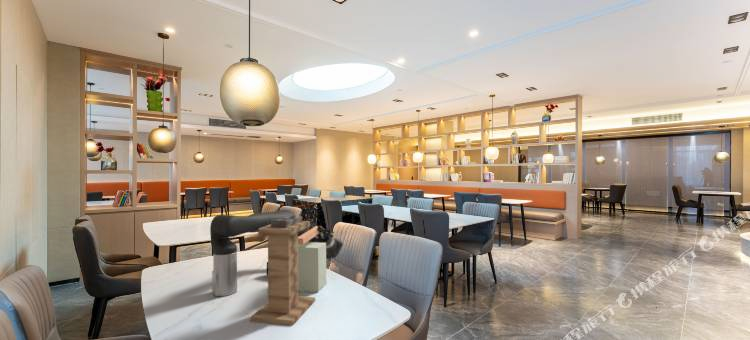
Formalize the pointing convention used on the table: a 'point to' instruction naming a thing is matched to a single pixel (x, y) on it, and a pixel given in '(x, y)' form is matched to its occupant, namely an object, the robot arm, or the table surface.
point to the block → (308, 235)
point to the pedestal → (311, 266)
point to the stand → (283, 273)
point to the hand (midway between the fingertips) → (314, 227)
